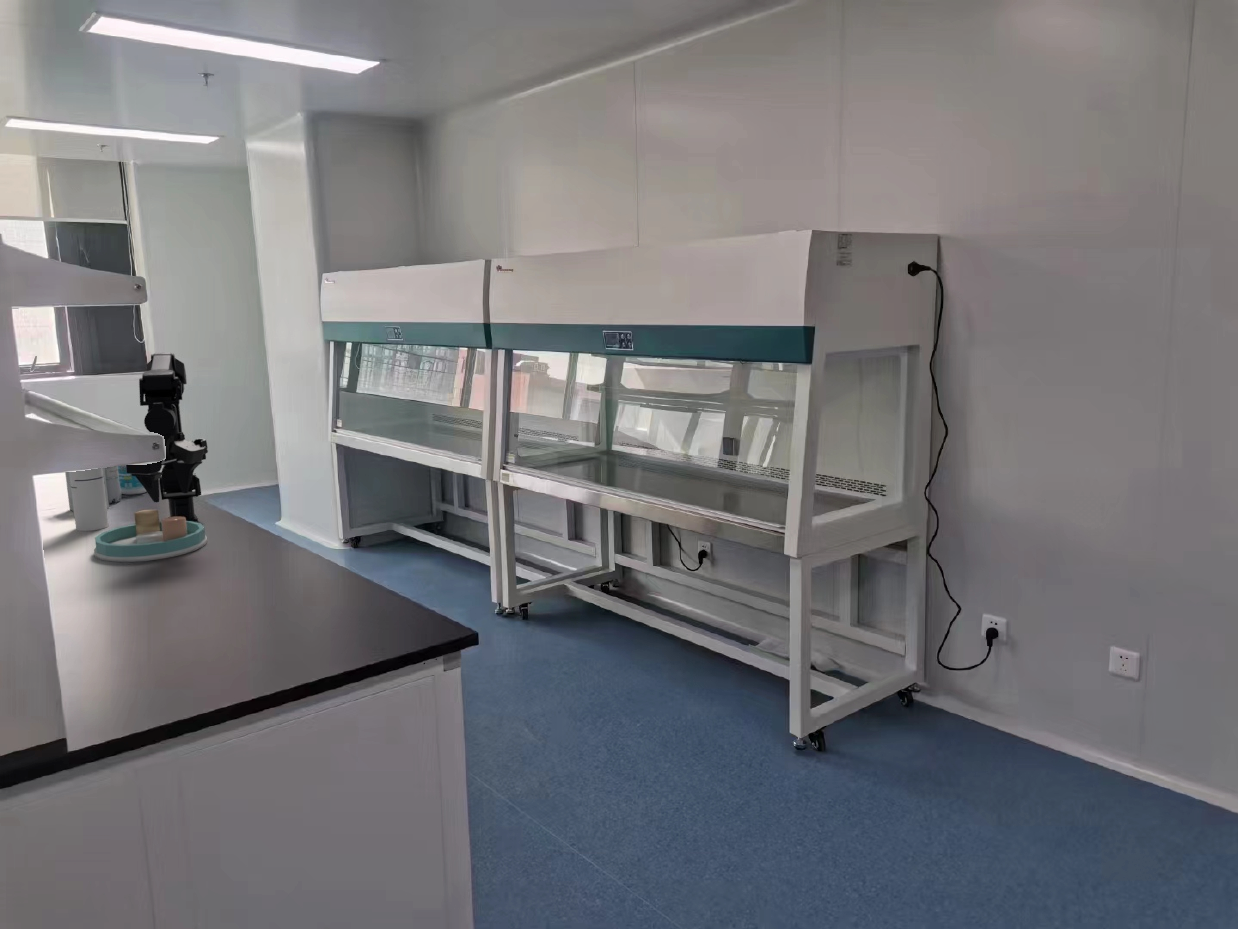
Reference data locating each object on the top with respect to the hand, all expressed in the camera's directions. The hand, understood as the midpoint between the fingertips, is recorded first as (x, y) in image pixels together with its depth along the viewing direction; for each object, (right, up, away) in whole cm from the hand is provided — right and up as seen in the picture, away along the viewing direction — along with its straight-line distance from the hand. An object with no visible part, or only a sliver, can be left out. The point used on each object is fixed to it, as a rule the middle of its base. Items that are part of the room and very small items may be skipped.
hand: (171, 497), depth 204 cm
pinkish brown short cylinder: (0, -11, +2) cm, 11 cm away
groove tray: (-6, -12, +4) cm, 14 cm away
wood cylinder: (-10, -10, +9) cm, 16 cm away
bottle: (-42, -3, +50) cm, 66 cm away
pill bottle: (-41, -1, +62) cm, 75 cm away
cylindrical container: (-31, -8, +22) cm, 39 cm away
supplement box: (-43, -5, +42) cm, 60 cm away
